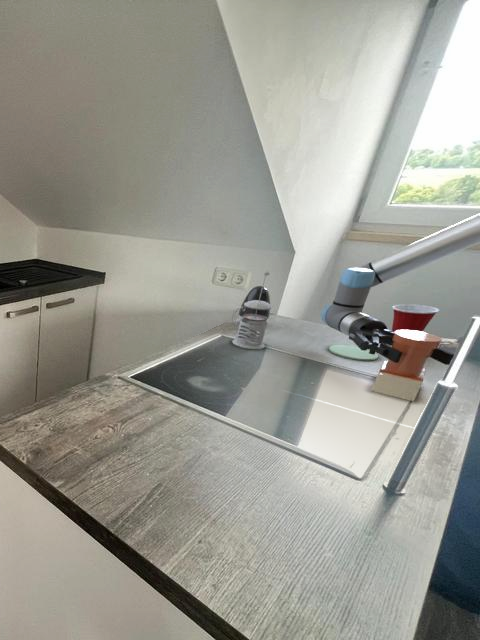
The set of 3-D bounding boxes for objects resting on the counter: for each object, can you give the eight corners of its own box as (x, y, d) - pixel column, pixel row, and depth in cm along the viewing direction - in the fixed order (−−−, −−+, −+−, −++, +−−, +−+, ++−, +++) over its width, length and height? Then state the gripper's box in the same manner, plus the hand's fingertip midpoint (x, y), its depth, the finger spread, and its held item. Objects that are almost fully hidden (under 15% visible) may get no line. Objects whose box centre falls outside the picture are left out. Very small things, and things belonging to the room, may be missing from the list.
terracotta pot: (411, 366, 104) (426, 330, 100) (433, 379, 96) (451, 342, 92) (373, 363, 106) (387, 328, 102) (393, 376, 99) (408, 340, 94)
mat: (364, 347, 129) (364, 346, 128) (386, 361, 118) (387, 360, 118) (321, 344, 132) (322, 343, 131) (340, 358, 121) (340, 357, 121)
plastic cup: (381, 333, 140) (394, 300, 135) (424, 340, 133) (439, 306, 128) (378, 341, 133) (392, 307, 128) (423, 349, 126) (439, 313, 121)
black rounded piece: (241, 328, 149) (250, 289, 142) (232, 319, 158) (241, 282, 152) (271, 329, 146) (282, 289, 140) (260, 320, 156) (270, 283, 150)
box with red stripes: (377, 376, 110) (384, 360, 108) (418, 385, 104) (425, 369, 102) (371, 390, 102) (378, 373, 100) (413, 401, 97) (422, 383, 95)
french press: (258, 351, 128) (278, 275, 118) (221, 342, 136) (237, 270, 126) (269, 344, 133) (289, 271, 123) (234, 335, 142) (250, 266, 132)
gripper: (402, 341, 115) (471, 374, 95) (316, 339, 119) (366, 370, 99) (412, 317, 112) (486, 346, 92) (324, 315, 115) (377, 342, 96)
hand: (424, 358), depth 95 cm, fingers open, 10 cm apart
